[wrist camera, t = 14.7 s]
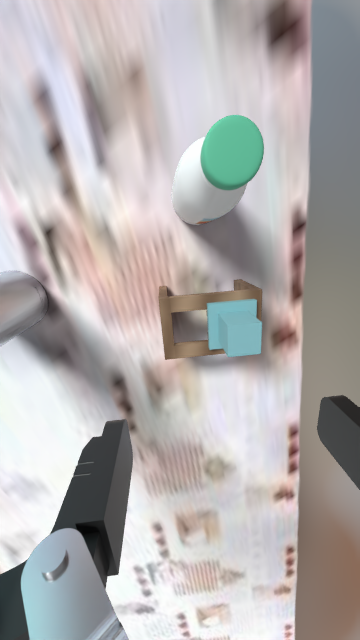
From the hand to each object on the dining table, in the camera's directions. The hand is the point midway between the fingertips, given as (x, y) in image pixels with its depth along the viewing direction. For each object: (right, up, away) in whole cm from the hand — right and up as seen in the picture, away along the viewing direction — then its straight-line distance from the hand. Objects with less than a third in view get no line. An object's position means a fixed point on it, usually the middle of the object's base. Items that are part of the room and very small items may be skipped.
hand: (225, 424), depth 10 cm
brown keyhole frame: (+2, +6, +32) cm, 33 cm away
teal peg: (+5, +5, +27) cm, 28 cm away
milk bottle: (+1, +23, +27) cm, 35 cm away
